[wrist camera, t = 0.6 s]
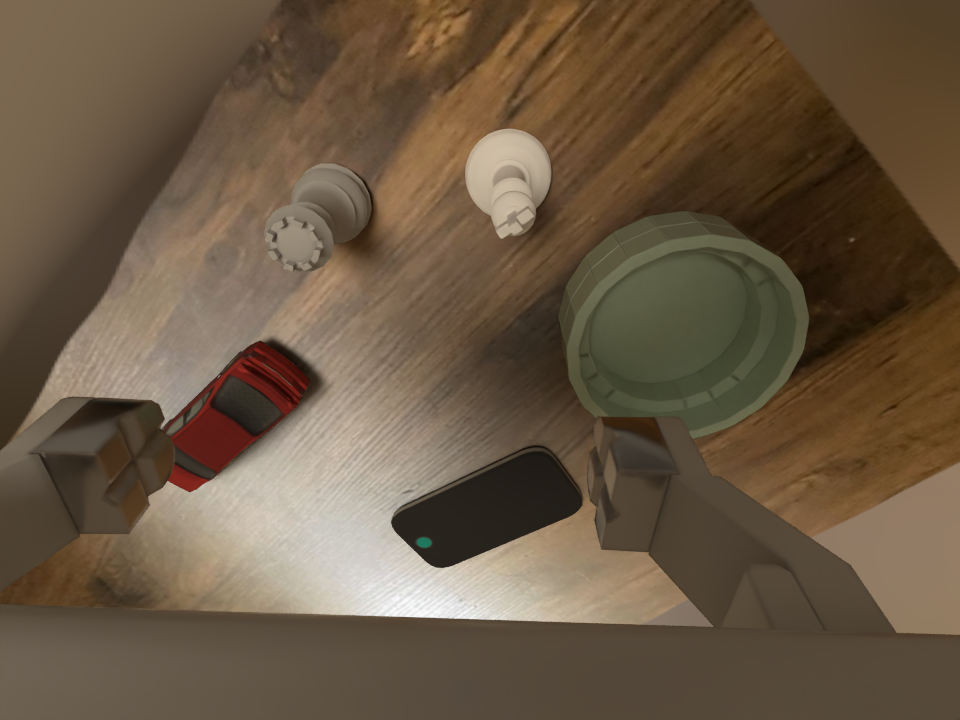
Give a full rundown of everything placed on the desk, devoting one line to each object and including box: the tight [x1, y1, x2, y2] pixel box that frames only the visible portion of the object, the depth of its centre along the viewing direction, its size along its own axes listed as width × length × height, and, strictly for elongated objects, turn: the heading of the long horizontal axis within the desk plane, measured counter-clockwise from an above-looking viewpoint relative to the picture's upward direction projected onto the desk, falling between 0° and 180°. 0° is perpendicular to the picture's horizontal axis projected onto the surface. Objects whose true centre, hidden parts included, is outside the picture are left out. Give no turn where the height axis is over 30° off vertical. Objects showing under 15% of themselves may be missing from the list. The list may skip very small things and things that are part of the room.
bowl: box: [558, 211, 809, 439], centre depth 33 cm, size 13×13×5 cm
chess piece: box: [465, 129, 552, 239], centre depth 27 cm, size 5×5×10 cm
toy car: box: [161, 341, 310, 492], centre depth 38 cm, size 6×15×5 cm, turn 128°
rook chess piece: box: [264, 164, 372, 271], centre depth 28 cm, size 4×4×8 cm
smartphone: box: [391, 447, 582, 568], centre depth 44 cm, size 8×1×15 cm
